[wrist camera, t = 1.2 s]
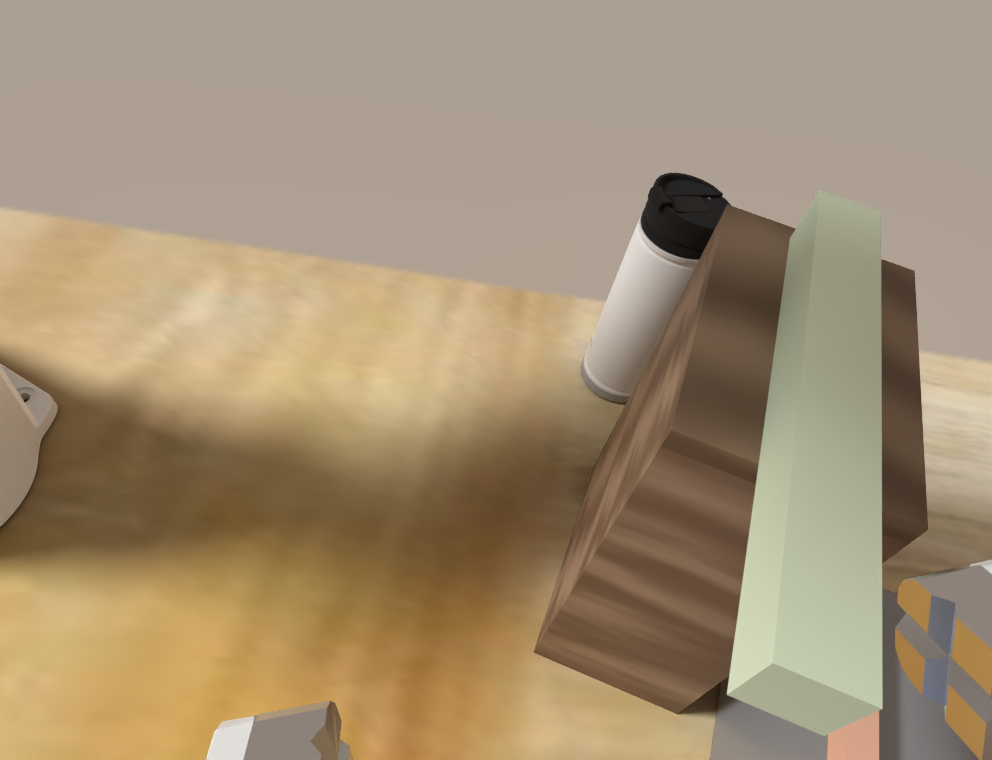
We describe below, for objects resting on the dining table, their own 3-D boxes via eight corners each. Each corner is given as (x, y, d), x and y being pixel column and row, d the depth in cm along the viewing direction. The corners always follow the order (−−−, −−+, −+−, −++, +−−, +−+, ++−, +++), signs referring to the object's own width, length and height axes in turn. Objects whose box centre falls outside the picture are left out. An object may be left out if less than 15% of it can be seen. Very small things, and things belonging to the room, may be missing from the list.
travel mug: (567, 354, 65) (636, 166, 49) (632, 346, 67) (718, 163, 51) (591, 409, 61) (674, 225, 46) (659, 399, 63) (760, 219, 48)
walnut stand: (677, 714, 46) (927, 529, 27) (533, 652, 47) (671, 429, 27) (713, 513, 57) (914, 270, 37) (594, 465, 58) (727, 204, 38)
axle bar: (824, 735, 21) (882, 708, 19) (726, 694, 21) (772, 663, 19) (846, 258, 36) (881, 211, 34) (790, 238, 37) (819, 189, 34)
